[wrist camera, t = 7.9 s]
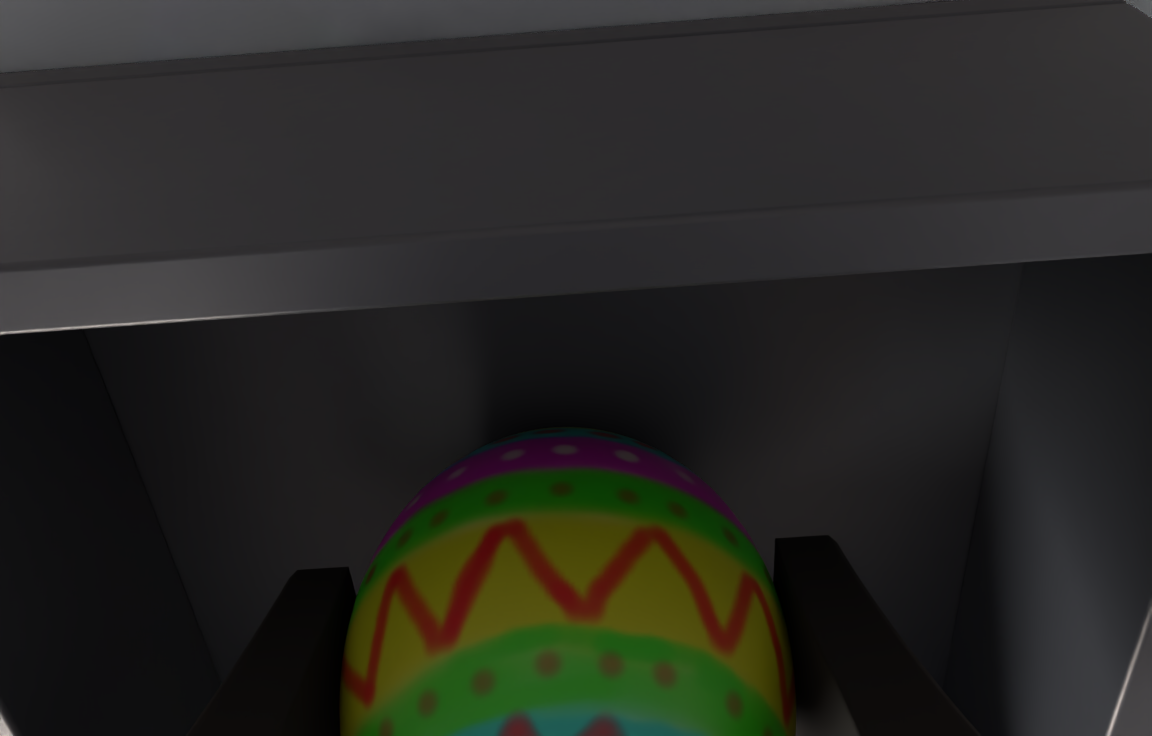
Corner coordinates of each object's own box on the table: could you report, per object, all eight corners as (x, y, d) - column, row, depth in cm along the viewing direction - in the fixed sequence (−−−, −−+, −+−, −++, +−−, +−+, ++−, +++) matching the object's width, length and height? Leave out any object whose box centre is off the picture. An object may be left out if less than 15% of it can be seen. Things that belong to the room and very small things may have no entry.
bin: (955, 726, 18) (1060, 1008, 15) (237, 771, 18) (159, 1060, 15) (1109, -14, 11) (1382, 166, 8) (-46, 75, 12) (-323, 289, 8)
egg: (374, 645, 15) (291, 1143, 10) (369, 356, 12) (250, 845, 7) (720, 662, 15) (802, 1150, 11) (791, 383, 13) (945, 867, 8)
